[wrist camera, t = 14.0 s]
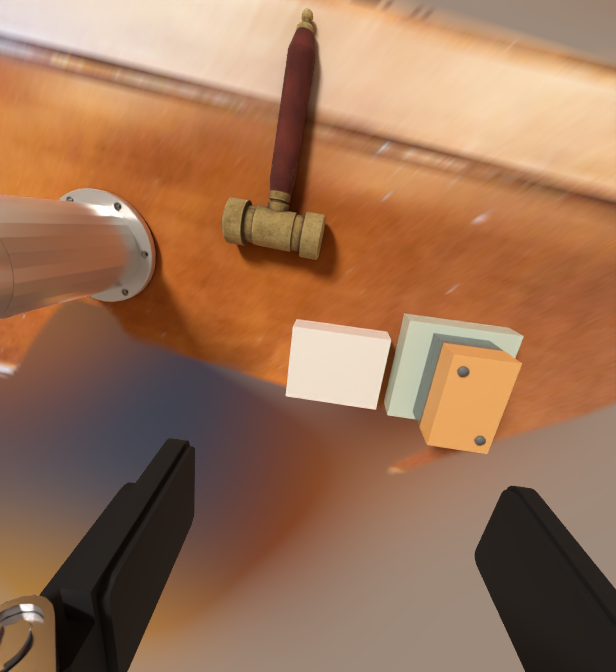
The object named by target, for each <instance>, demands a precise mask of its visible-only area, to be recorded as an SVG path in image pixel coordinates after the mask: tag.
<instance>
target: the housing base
mask: <svg viewBox="0 0 616 672" xmlns="http://www.w3.org/2000/svg"><path fill="white" fill-rule="evenodd" d="M443 343H449V344H456V345H463V346H471V347H478V348H485V349H492V350H500V351H503V350H502V349H501V348H499V347H498V346H496V345H495V344H494V343H492V342H491V341H488V340H481V339H474V338H466V337H459V336H452V335H444V334H437V333H434V334H433V337H432V341H431V345H430V348H429V352H428V356H427V360H426V363H425V367H424V371H423V374H422V378H421V382H420V385H419V389H418V393H417V397H416V400H415V404H414V408H413V411H412V412H413V414H414V417H415V419H416V421H417V424H418V426H419V427H420V423H421V420H422V416H423V413H424V409H425V406H426V402H427V398H428V395H429V391H430V388H431V384H432V381H433V377H434V374H435V370H436V367H437V363H438V360H439V356H440V353H441V349H442V346H443Z"/></svg>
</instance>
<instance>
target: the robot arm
mask: <svg viewBox="0 0 616 672" xmlns="http://www.w3.org/2000/svg"><path fill="white" fill-rule="evenodd" d="M147 253H148V254H147ZM155 264H156V251H155V246H154V241H153V238H152V235H151V232H150V230H149V228H148V226H147V224H146V223H145V221H144V219H143V218H142V217H141V215H140V214H139V213H138V212H137V210H135V209H134V208H133V207H132V206H131V205H130V204H129V203H128V202H126V201H125V200H123V199H122V198H121V197H119V196H117V195H115V194H112V193H110V192H107V191H103V190H99V189H90V188H84V189H76V190H74V191H71V192H68V193H67V194H65V195H64V196H62V197H61V198H60V199H59V200H52V199H43V198H33V197H24V196H14V195H5V194H0V319H4V318H7V317H11V316H15V315H18V314H22V313H26V312H30V311H33V310H37V309H41V308H44V307H48V306H52V305H55V304H59V303H63V302H67V301H70V300H74V299H78V298H82V297H85V296H89V297H92V298H94V299H97V300H101V301H107V302H116V301H122V300H126V299H129V298H132V297H133V296H135V295H137V294H139V293H140V292H141V291H142V290H143V289H145V288H146V286H147V285H148V283H149V282H150V280H151V278H152V275H153V273H154V269H155ZM194 479H195V448H194V447H190V445H189V441H184V440H178V439H168V440H167V441H166V442H165V443H164V445H163V446H162V447H161V449H160V450H159V452H158V453H157V454H156V456H155V457H154V458H153V460H152V461H151V463H150V464H149V465H148V467H147V468H146V470H145V471H144V472H143V474H142V475H141V476H140V478H139V479H138V481H137V482H136V483H127V484H125V485H124V486H123V487H122V488H121V489H120V490H119V492H118V493H117V494H116V496H115V497H114V498H113V500H112V501H111V502H110V504H109V505H108V506H107V508H106V509H105V510H104V511H103V513H102V514H101V515H100V516H99V518H98V519H97V520H96V522H95V523H94V524H93V526H92V527H91V528H90V530H89V531H88V532H87V534H86V535H85V536H84V537H83V539H82V540H81V541H80V543H79V544H78V545H77V547H76V548H75V549H74V551H73V552H72V553H71V554H70V556H69V557H68V558H67V560H66V561H65V562H64V564H63V565H62V566H61V567H60V569H59V570H58V571H57V573H56V574H55V575H54V577H53V578H52V579H51V581H50V582H49V583H48V585H47V586H46V587H45V588H44V590H43V591H42V592H41V594H40V595H39V596H38V595H27V596H21V597H18V598H15V599H12V600H9V601H6V602H4V603H3V604H1V605H0V672H127V671H128V669H129V667H130V664H131V662H132V660H133V658H134V655H135V653H136V651H137V649H138V646H139V644H140V642H141V639H142V637H143V635H144V633H145V630H146V628H147V626H148V623H149V621H150V619H151V616H152V614H153V612H154V610H155V607H156V605H157V603H158V600H159V598H160V596H161V593H162V591H163V589H164V587H165V584H166V582H167V580H168V577H169V575H170V573H171V570H172V568H173V566H174V563H175V561H176V559H177V557H178V554H179V552H180V550H181V548H182V545H183V543H184V541H185V538H186V536H187V534H188V531H189V529H190V527H191V524H192V521H193V517H194V483H195V482H194V481H195V480H194ZM475 561H476V565H477V567H478V569H479V571H480V574H481V576H482V578H483V580H484V582H485V585H486V587H487V589H488V591H489V593H490V596H491V598H492V600H493V602H494V604H495V606H496V608H497V610H498V613H499V615H500V617H501V619H502V622H503V624H504V626H505V628H506V630H507V633H508V635H509V637H510V639H511V641H512V643H513V646H514V648H515V650H516V652H517V655H518V657H519V659H520V661H521V663H522V665H523V668H524V670H525V672H616V589H615V588H614V587H613V585H612V584H611V583H610V582H609V581H608V579H607V578H606V577H605V576H604V574H603V573H602V572H601V571H600V569H599V568H598V567H597V566H596V564H594V562H593V561H592V560H591V558H590V557H589V556H588V555H587V553H586V552H585V551H584V550H583V549H582V547H581V546H580V545H579V543H578V542H577V541H576V540H575V539H574V537H573V536H572V535H571V534H570V532H569V531H568V530H567V529H566V527H565V526H564V525H563V524H562V523H561V521H560V520H559V519H558V518H557V516H556V515H555V514H554V513H553V511H552V510H551V509H550V508H549V506H548V505H547V504H546V503H545V501H544V500H543V499H542V498H541V497H540V496H539V494H538V493H537V492H536V491H535V490H534V489H531V488H525V487H517V486H510V487H508V488H507V490H504V491H503V492H502V494H501V496H500V498H499V500H498V502H497V504H496V507H495V509H494V511H493V513H492V515H491V518H490V520H489V522H488V524H487V526H486V529H485V531H484V533H483V535H482V537H481V540H480V542H479V544H478V546H477V548H476V551H475Z"/></svg>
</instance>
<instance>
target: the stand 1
mask: <svg viewBox="0 0 616 672" xmlns="http://www.w3.org/2000/svg"><path fill="white" fill-rule="evenodd" d="M390 344H391V339H390V337H389V335H388V333H387V332H385V331H378V330H371V329H364V328H357V327H349V326H342V325H335V324H328V323H321V322H313V321H306V320H299V319H296V321H295V324H294V326H293V333H292V342H291V351H290V361H289V370H288V379H287V389H286V396H289V397H295V398H301V399H308V400H315V401H321V402H328V403H334V404H341V405H348V406H354V407H361V408H368V409H374V410H376V406H377V402H378V397H379V393H380V388H381V384H382V379H383V375H384V370H385V366H386V362H387V357H388V353H389V348H390Z"/></svg>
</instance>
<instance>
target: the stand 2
mask: <svg viewBox="0 0 616 672" xmlns="http://www.w3.org/2000/svg"><path fill="white" fill-rule="evenodd" d="M434 333H437V334H444V335H452V336H459V337H466V338H474V339H481V340H488V341H491V342H492V343H494V344H495V345H496V346H498V347H499V348H501V349H502V350H503V351H505V352H507V353H508V354H509V355H511V356H512V357H514V358H516V355H517V353H518V350H519V347H520V345H521V342H522V339H523V337H524V336H522V335H521V334H519V333H517V332H515V331H514V330H512V329H510V328H507V327H500V326H493V325H485V324H478V323H471V322H463V321H456V320H449V319H441V318H434V317H427V316H419V315H412V314H405V313H404V317H403V321H402V325H401V330H400V334H399V338H398V343H397V347H396V351H395V356H394V360H393V364H392V369H391V373H390V377H389V381H388V386H387V390H386V394H385V399H384V405H385V408H386V412H387V415H390V416H396V417H403V418H410V419H415V417H414V414H413V412H412V411H413V408H414V404H415V400H416V397H417V393H418V389H419V385H420V382H421V378H422V374H423V371H424V367H425V363H426V360H427V356H428V352H429V348H430V345H431V341H432V337H433V334H434Z"/></svg>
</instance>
